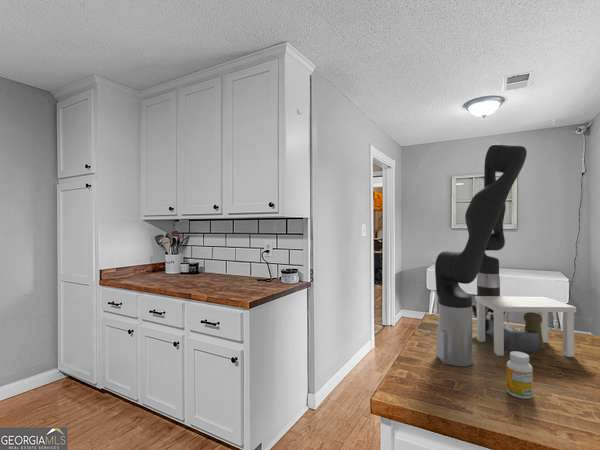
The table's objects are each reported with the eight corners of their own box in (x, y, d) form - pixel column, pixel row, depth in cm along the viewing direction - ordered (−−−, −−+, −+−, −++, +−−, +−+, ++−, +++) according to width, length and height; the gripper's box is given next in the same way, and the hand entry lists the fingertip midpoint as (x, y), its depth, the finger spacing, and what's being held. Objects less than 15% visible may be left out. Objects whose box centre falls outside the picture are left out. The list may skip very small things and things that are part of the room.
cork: (547, 349, 110) (547, 315, 110) (527, 347, 111) (527, 315, 111) (538, 342, 116) (538, 311, 115) (519, 341, 117) (519, 310, 117)
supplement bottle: (508, 385, 86) (508, 348, 86) (533, 392, 82) (533, 353, 82) (505, 394, 82) (504, 355, 81) (531, 401, 78) (531, 360, 78)
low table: (496, 356, 104) (496, 306, 104) (475, 339, 119) (475, 296, 119) (576, 357, 103) (576, 307, 103) (545, 340, 117) (544, 296, 117)
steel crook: (510, 351, 108) (510, 332, 108) (480, 330, 128) (480, 315, 128) (538, 351, 108) (538, 333, 108) (504, 330, 128) (504, 315, 128)
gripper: (473, 286, 122) (474, 333, 122) (513, 286, 121) (513, 334, 121) (464, 282, 129) (465, 327, 129) (502, 283, 128) (502, 327, 128)
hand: (488, 330), depth 125 cm, fingers closed on steel crook, 2 cm apart
